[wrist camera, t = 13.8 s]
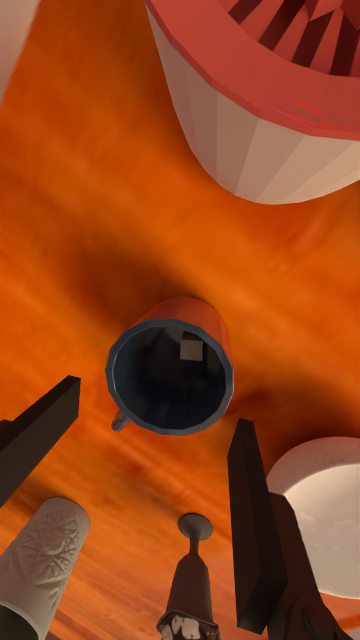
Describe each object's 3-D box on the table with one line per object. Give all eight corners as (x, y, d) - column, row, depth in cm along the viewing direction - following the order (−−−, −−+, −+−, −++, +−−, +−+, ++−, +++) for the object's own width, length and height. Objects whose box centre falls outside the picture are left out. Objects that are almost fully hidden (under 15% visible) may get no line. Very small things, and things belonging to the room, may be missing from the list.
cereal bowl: (390, 532, 29) (442, 615, 23) (252, 517, 32) (262, 587, 25) (418, 415, 25) (493, 475, 18) (255, 409, 27) (268, 459, 21)
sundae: (167, 533, 35) (135, 726, 21) (180, 502, 33) (153, 692, 19) (210, 549, 35) (206, 756, 20) (225, 519, 33) (233, 725, 18)
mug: (179, 277, 25) (158, 289, 16) (246, 336, 25) (263, 381, 16) (109, 359, 29) (60, 408, 20) (169, 409, 29) (148, 478, 20)
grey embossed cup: (49, 540, 39) (-18, 656, 28) (26, 493, 37) (-58, 599, 26) (103, 539, 37) (54, 664, 26) (82, 489, 35) (18, 602, 24)
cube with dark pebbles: (180, 339, 24) (205, 341, 23) (183, 332, 26) (206, 334, 25) (180, 359, 24) (204, 361, 24) (182, 351, 26) (205, 352, 26)
